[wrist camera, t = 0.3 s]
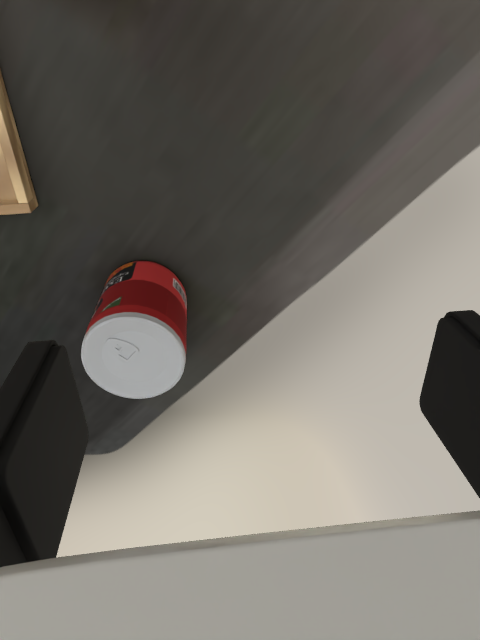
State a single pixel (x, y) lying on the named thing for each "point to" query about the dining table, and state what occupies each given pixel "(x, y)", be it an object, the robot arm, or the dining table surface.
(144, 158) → the dining table surface
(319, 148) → the dining table surface
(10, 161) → the divided tray
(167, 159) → the dining table surface
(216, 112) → the dining table surface
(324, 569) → the robot arm
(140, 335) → the canned food
